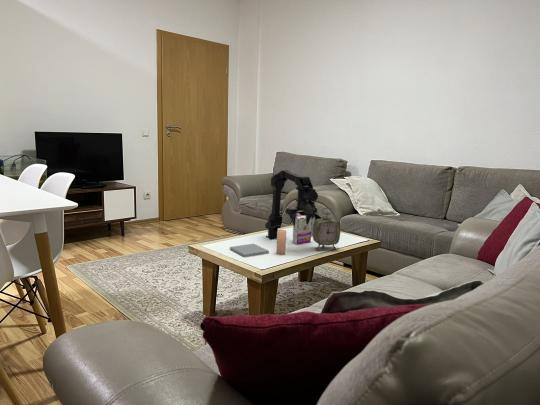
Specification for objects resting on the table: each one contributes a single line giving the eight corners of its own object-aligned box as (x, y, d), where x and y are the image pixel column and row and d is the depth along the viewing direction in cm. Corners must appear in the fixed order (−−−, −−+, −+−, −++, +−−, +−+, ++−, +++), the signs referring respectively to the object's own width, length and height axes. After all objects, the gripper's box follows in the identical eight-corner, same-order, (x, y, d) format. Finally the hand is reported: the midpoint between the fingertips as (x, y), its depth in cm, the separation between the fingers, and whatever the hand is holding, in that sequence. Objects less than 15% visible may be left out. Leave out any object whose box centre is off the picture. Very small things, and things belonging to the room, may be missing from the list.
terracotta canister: (274, 252, 244) (275, 230, 241) (281, 251, 247) (282, 229, 244) (279, 255, 240) (280, 232, 237) (286, 254, 243) (288, 231, 240)
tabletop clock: (316, 251, 250) (318, 209, 245) (310, 247, 258) (312, 206, 254) (339, 250, 254) (342, 208, 249) (332, 246, 262) (335, 205, 258)
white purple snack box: (312, 237, 281) (314, 214, 279) (291, 234, 286) (293, 212, 283) (315, 234, 290) (317, 212, 287) (295, 231, 294) (296, 209, 291)
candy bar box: (305, 240, 273) (307, 214, 270) (310, 242, 269) (312, 216, 266) (291, 242, 266) (293, 216, 263) (297, 244, 262) (298, 218, 259)
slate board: (229, 249, 246) (229, 246, 246) (253, 246, 255) (253, 243, 255) (244, 257, 233) (244, 254, 233) (268, 253, 242) (269, 250, 242)
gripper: (296, 201, 236) (295, 229, 239) (324, 200, 245) (322, 226, 248) (285, 198, 245) (284, 225, 248) (312, 196, 255) (310, 222, 258)
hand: (300, 225), depth 250 cm, fingers open, 9 cm apart
